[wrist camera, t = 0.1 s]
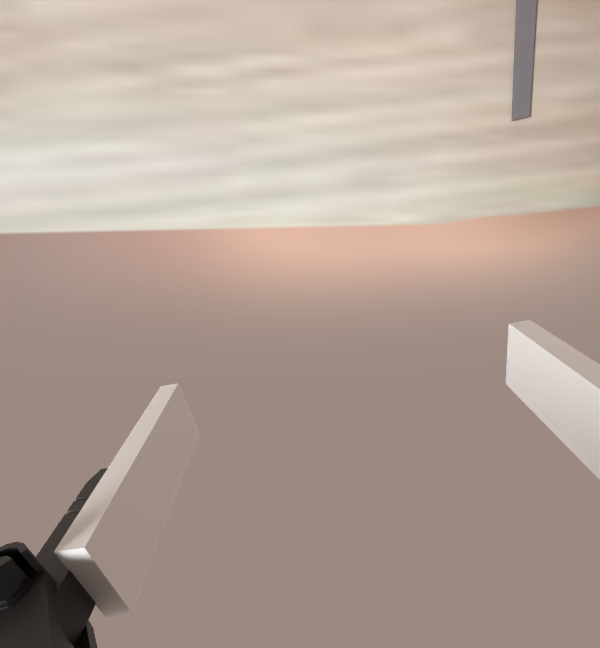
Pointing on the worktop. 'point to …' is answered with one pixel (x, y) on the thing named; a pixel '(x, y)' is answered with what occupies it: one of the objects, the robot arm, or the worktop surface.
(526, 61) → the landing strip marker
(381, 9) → the worktop surface
